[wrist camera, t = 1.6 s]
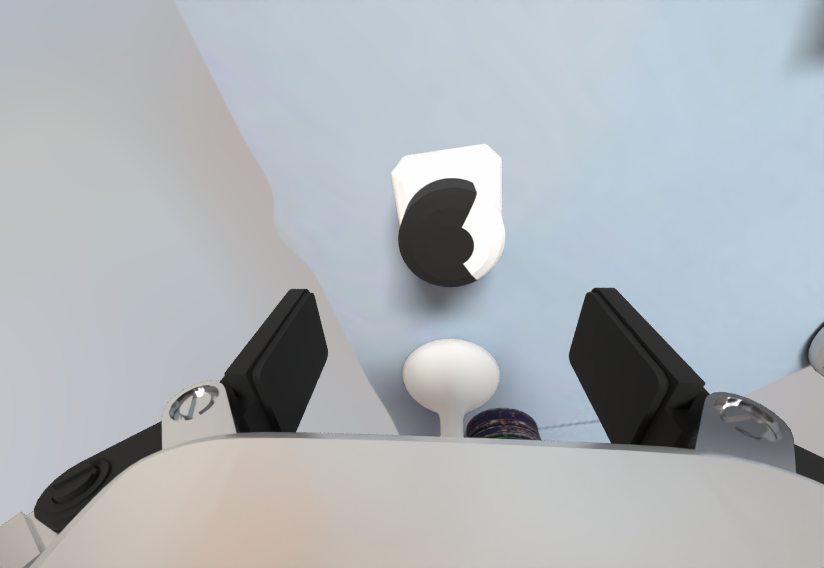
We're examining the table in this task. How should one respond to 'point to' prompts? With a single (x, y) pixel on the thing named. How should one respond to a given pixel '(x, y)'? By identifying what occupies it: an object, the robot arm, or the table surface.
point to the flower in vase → (451, 380)
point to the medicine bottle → (450, 213)
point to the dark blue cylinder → (503, 425)
